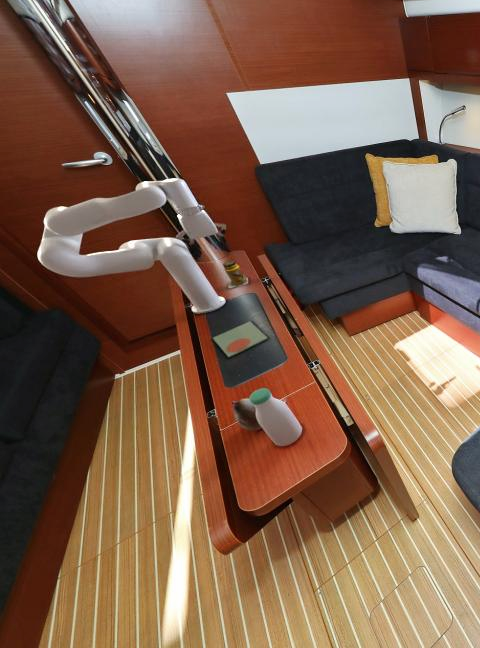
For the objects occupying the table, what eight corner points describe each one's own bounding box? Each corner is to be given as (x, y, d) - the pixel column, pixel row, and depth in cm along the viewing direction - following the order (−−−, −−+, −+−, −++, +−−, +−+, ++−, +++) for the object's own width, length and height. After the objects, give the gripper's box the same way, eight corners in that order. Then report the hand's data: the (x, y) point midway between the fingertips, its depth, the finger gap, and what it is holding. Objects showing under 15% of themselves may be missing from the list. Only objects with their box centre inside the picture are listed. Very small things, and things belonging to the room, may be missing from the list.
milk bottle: (308, 428, 102) (281, 387, 90) (287, 450, 96) (256, 409, 84) (289, 421, 104) (261, 380, 92) (268, 442, 98) (234, 401, 86)
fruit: (240, 421, 104) (220, 398, 97) (272, 403, 110) (255, 379, 102) (250, 441, 98) (229, 418, 91) (283, 421, 104) (266, 397, 97)
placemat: (213, 338, 135) (212, 337, 135) (250, 322, 144) (250, 320, 144) (229, 358, 126) (228, 356, 126) (268, 338, 135) (267, 337, 135)
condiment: (248, 284, 169) (236, 263, 162) (228, 288, 165) (215, 268, 158) (248, 277, 174) (236, 257, 167) (228, 282, 170) (216, 262, 163)
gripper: (212, 203, 142) (232, 239, 152) (160, 213, 132) (186, 251, 142) (216, 207, 138) (237, 244, 148) (163, 218, 128) (189, 257, 138)
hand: (212, 247), depth 145 cm, fingers open, 9 cm apart
